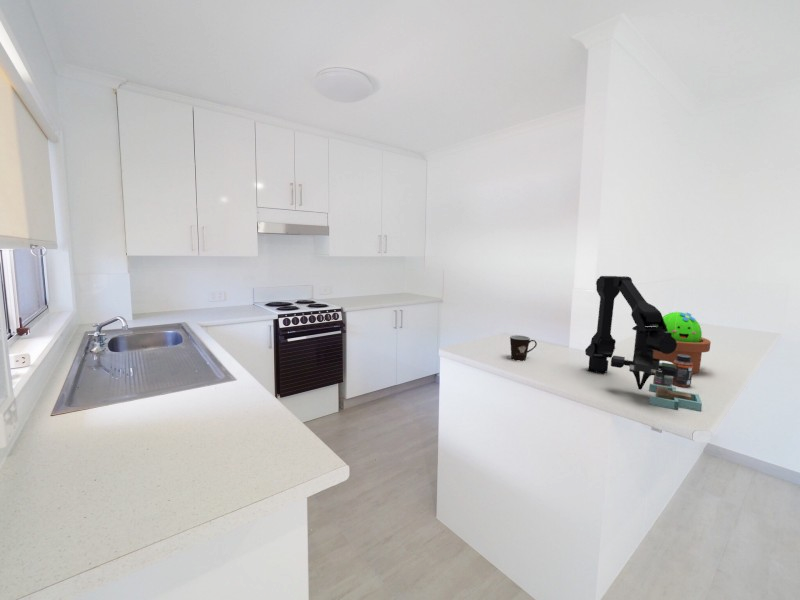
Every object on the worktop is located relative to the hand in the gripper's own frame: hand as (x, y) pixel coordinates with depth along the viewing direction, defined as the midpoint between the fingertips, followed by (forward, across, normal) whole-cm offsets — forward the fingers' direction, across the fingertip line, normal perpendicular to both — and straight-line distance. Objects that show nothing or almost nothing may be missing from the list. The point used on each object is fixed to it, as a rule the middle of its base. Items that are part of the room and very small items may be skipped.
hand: (639, 389), depth 129 cm
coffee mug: (+2, -46, +19) cm, 49 cm away
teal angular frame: (+2, +10, 0) cm, 10 cm away
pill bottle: (+2, +7, +12) cm, 14 cm away
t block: (+2, +9, 0) cm, 10 cm away
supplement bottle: (+2, +13, +21) cm, 25 cm away
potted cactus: (+2, +12, +45) cm, 47 cm away
